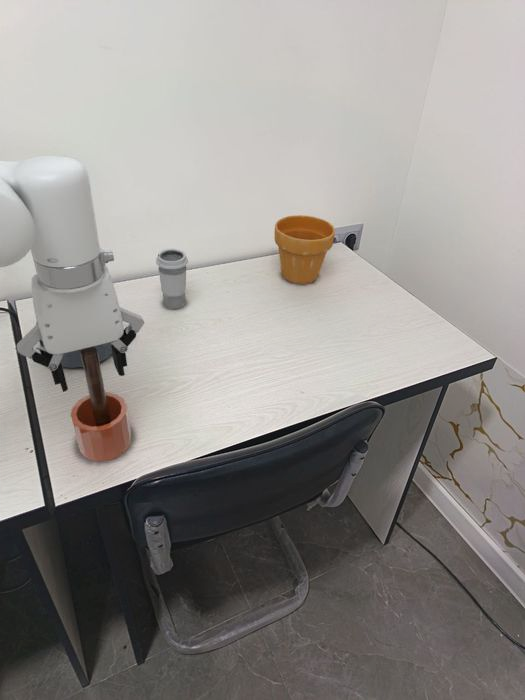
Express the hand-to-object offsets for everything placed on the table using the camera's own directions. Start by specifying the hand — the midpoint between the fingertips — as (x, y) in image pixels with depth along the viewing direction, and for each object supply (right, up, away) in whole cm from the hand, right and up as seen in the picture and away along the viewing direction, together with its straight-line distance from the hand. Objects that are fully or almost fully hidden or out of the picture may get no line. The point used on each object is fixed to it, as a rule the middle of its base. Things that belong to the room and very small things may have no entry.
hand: (91, 376), depth 70 cm
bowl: (-11, +5, +27) cm, 29 cm away
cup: (+4, +14, +41) cm, 44 cm away
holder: (-1, -11, +9) cm, 14 cm away
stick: (0, -10, +8) cm, 13 cm away
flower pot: (+33, +22, +54) cm, 68 cm away
